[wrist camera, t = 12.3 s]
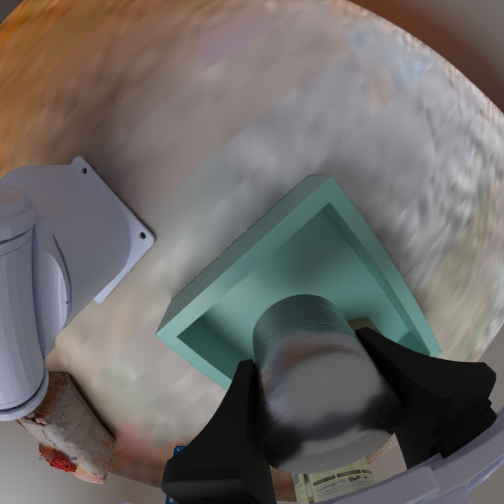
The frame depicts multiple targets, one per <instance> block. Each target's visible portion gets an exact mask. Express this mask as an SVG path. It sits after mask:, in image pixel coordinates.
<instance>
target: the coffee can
mask: <svg viewBox="0 0 504 504" xmlns="http://www.w3.org/2000/svg"><path fill="white" fill-rule="evenodd" d="M292 476H293V482H294V487H295V492H296V498H297V503H298V504H312V503H316V502H320V501H324V500H328V499H332V498H335V497H339V496H342V495H345V494H348V493H351V492H354V491H357V490H360V489H363V488H366V487H369V486H371V485H374V484H376V482H375V479H374V477H373V474H372V472H371V470H370V467H369V465H368V462H367V460H366V458H365V457H364V458H362V459H360V460H358V461H356V462H354V463H352V464H349V465H347V466H344V467H341V468H338V469H334V470H331V471H326V472H321V473H312V474H295V473H292Z"/></svg>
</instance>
